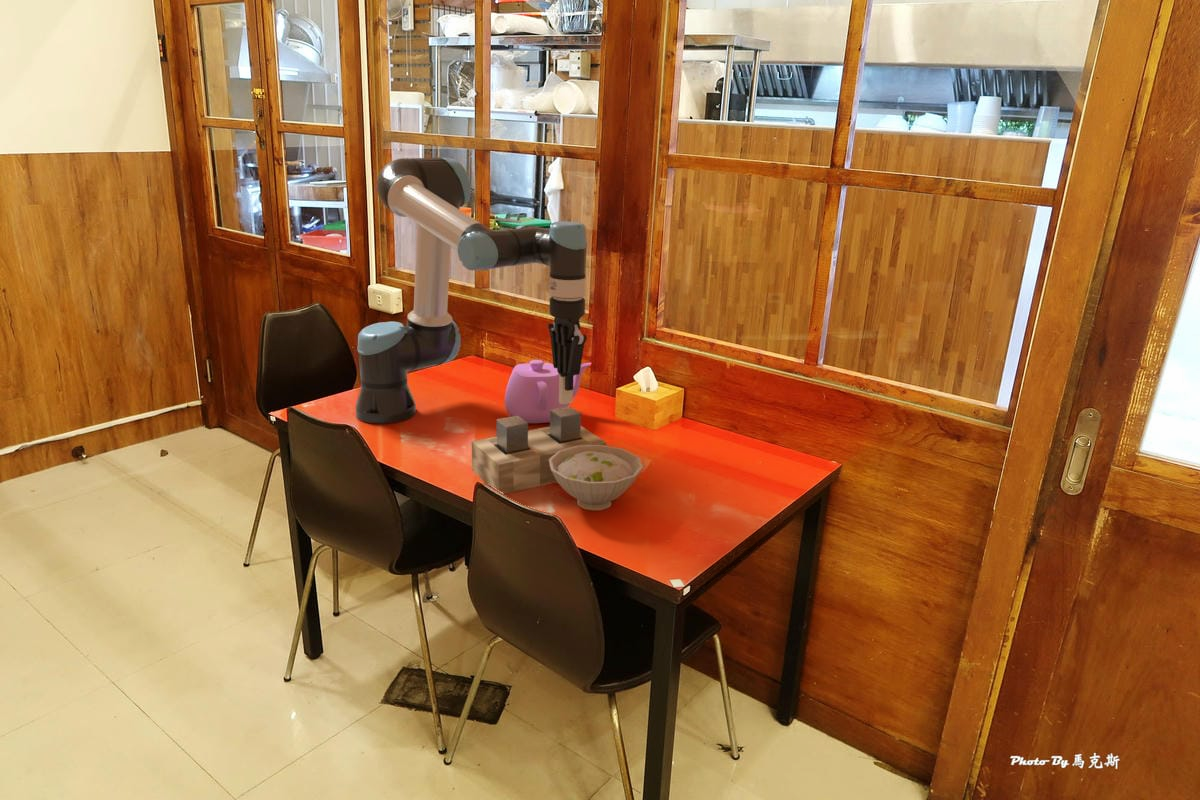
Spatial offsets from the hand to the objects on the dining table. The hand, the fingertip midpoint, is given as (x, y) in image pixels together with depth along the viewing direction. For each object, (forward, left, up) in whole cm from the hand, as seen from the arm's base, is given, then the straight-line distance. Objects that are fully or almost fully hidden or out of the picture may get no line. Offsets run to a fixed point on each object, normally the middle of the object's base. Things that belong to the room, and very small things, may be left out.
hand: (565, 402), depth 176 cm
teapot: (-31, +9, -15) cm, 36 cm away
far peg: (0, 0, -9) cm, 9 cm away
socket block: (0, -7, -15) cm, 17 cm away
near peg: (0, -13, -9) cm, 16 cm away
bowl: (+19, -4, -15) cm, 25 cm away
